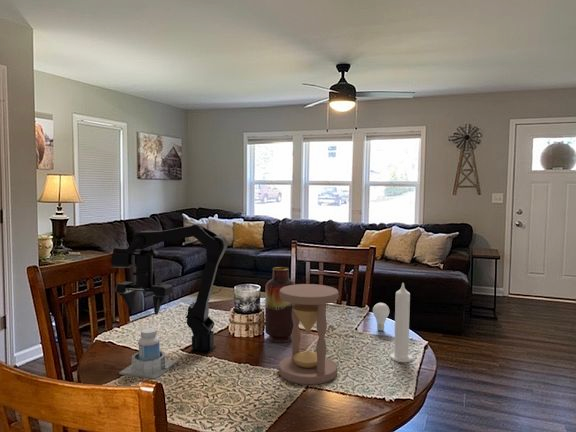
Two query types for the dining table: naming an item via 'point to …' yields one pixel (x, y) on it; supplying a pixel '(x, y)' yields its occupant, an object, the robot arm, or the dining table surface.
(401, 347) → the candle
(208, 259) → the robot arm
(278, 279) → the vase
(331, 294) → the hourglass
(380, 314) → the lightbulb
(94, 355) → the dining table surface
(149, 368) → the duct collar
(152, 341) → the pill bottle
